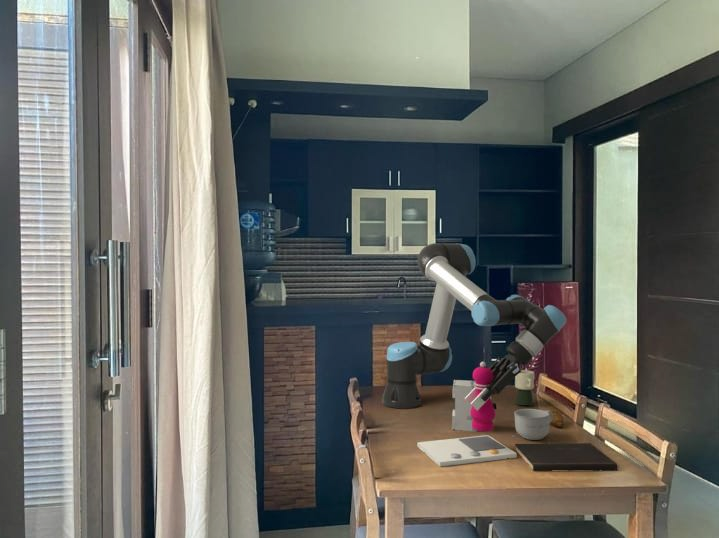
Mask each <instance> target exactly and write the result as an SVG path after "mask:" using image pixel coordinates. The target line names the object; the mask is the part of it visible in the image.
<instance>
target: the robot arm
mask: <svg viewBox="0 0 719 538" xmlns="http://www.w3.org/2000/svg"><path fill="white" fill-rule="evenodd" d="M417 267H418V269H419V271H420V273H422V274H423V276H424V277H425V278H426V279H428V280H430V281H432V282H434V281H435V282H436V285H435V288H434V293H433V298H432V302H431V306H430V307H431V308H430V311H429V317H428V321H427V324H426V328H425V329H426V330H425V332H424V333H425V334H423V335H422V336H421V337H420V338H419V342H418V344H417V343H416V342H414V341H399V342H396V343H392V344H390V345H389V346H388V347H387V351H386V385H385V389H384V392H383V394H382V399H381V400H382V401H381V404H382V405H383V406H385V407H389V408H394V409H412V408H413V407H414V408H417V406H418V407H419V406H421V405H422V397H421V394H420V390H419V387H418V383H417V381H418V376H420V375H425V374H426V375H427V374H438V373H441V372H445V371H446V370H448V369H449V368H450V366H451V364H452V361H453V354H452V348H451V347H450V343H449V341H448V340H447V338H448V336H449V335H448V334H449V331H450V326H451V322H452V318H453V313H454V309H455V305H456V301H458V302H460V303H461V304H462V305H463V306H465V307H466V308H467V309H468V310H470V311H471V318H472V320H473V322H474V323H475V325H478V326H480V327H494V326H503V325H515V324H519V325H521V326H523V327H525V328H524V329H523V330H522V331H521V332H520V333H519V334H518V335H517V336H516V337H515V340H514V341H511V342H510V344H509V345H508V346H507V347H506V348H505V349H506V352H507V354H506V355H505V356H504V357H502V358H501V357H500V356H498V357H497V358H496V359H495V361H494V362H493V363H492V364H491V365H490V366H489V367H488V368H489V369H491V371H492V372H493V380H492V381H491V382H490V383H491V384H490V385H489V386H486V388H485V389H484V390H483V391H482V392H481V393H480V394H479V395H478V396H477V397H476V398H475V396H476V388H474V389H473V390H472V391H471V392H470V393H469V394H468V395H467V396H466V397H465V398H464V399H465V400H466V401H467V402H468V403H469V404H470V405H472V406H473V407H474V408H475V409H476V410H477V411H478V409H479V408H480V407H481V406H482V405H483V404H484V403H485V402H486V401H487V400H488V399H489V398H490V397H491V398H492V396H493V395H494V396H495V395H497V396H498V395H499V394H500V393H501V392H502V391H503V390H504V389H505V388H506V387H507V386H508V385H509V384H510V383H511V382H512V380H514V379H515V376H516V375H518V374H519V373H520V372H521V370H522V369H520V368H519V367H520V366H524V367H525V366H527V365H528V364H529V363H530V362H531V361H532V360H533V356H534V357H536V356H537V354H538V353H541V352H542V349H543V348H544V347H545V346H546V345H547V344H548V342H550V341H551V340H552V338H554V337H555V336H556V335H557V334H558V333H560V331H561V329H562V328H563V327H564V326H565V325H566V323H567V317H566V315H565V314H564V313H563V312H562V311H561V310H560V309H559V308H558V307H556V306H554V305H551V304H548V305H547V306H544V308H542V307H540V306H538V305H537V304H534V303H533V302H531V301H529V300H528V299H527V298H525V297H523V296H522V295H519V294H512V295H510V296H508V297H507V298H506V299H501V300H497V299H495V298H494V297H492V296H491V295H490V294H488V293H487V292H486V291H484V290H483V289H482V288H480V287H479V286H478V285H476V284H475V283H474V282H473V281H471V280H470V279H469V278H468V277H467V276H468V275H471V274H472V273H473V272H474V270H475V268H476V256H475V254H474V251H473V249H472V248H471V247H470V246H469V245H467V244H463V243H459V242H457V243H437V242H436V243H430V244H427V245H426V246H424V247H423V248H422V249H421V251H420V252H419V253H418V256H417ZM414 408H413V409H414Z"/></svg>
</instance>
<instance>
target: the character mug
mask: <svg viewBox="0 0 719 538" xmlns="http://www.w3.org/2000/svg"><path fill="white" fill-rule="evenodd" d="M520 370H521V372H520V373H519V374H518V375H516V376H515V377H514V387H515V388H516V389H517V392H516V393H517V394H516V398H515V399H516V400H515V404H516V405H519V406H525V407H527V406H533V403H534V402H533V394H532V390H533V389H535V383H534V382H535V381H534V380H535V372H534V371H533V370H526V369H520Z"/></svg>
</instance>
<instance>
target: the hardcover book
mask: <svg viewBox="0 0 719 538" xmlns="http://www.w3.org/2000/svg"><path fill="white" fill-rule="evenodd" d="M514 446H515V452H516V453H518V454H519V455H520V457H521V456H522V457H521V458H523V460H524V461H525V462H526V464H527V463H528V464H529V465H528V464H527V465H528V466H529V467H530V469H532V471H533V472H553V471H552V470H593V471H595V472H596V471H597V472H599V471H600V470H602V471H600V472H605V471H611V472H613V471H615V472H617V471H618V469H619V468H618V467H619V466H618V463H617V462H615V461H614V460H613V459H611V458H610V457H609V456H608V455H606V454H605V453H604V452H603V451H601V450H599V449H598V448H597V447H596V446H594V445H593V443H590V442H588V443H587V442H586V443H585V442H584V443H583V442H581V443H579V442H577V443H574V442H573V443H571V442H569V443H568V442H567V443H566V442H565V443H564V442H563V443H558V442H557V443H514ZM593 471H592V472H593Z"/></svg>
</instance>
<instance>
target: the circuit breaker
mask: <svg viewBox="0 0 719 538" xmlns="http://www.w3.org/2000/svg"><path fill="white" fill-rule="evenodd" d="M474 383H475V380H463V379H462V380H461V379H453V384H452V395H451V396H452V397H451V398H452V399H454V409H452V415H451V416H452V417H451V430H452V431H460V430H463V431H464V432H474V431H477V432H478V430H475V429H473V428H472V421H473V420H474V419H473V418H472V417H471V414H470V413H471V407H472V405H470V404H469V403H468V402H467V401H466V400H465V399H464V398H465V397H466V396H467V395H468V394H469V393H470V392H471V391H472V390H473V389H474V388H475V387H474V386H475V384H474ZM490 398H491V402H492V404H493V407H494V410H497V403H495V402H493V400H492V396H491V397H490ZM453 429H455V430H453ZM463 431H462V432H463Z"/></svg>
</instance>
